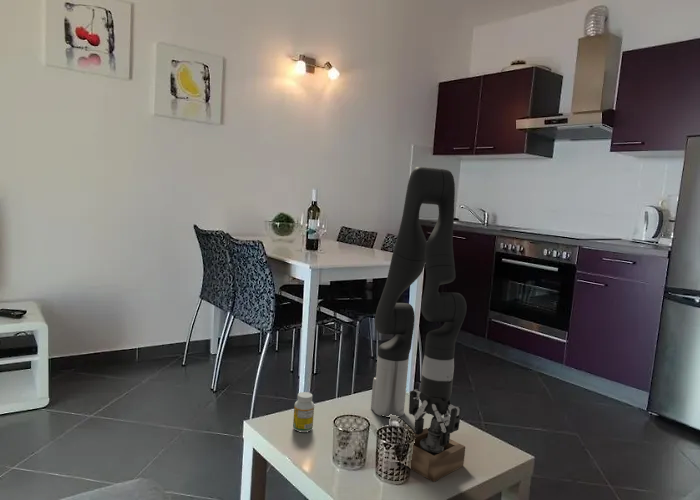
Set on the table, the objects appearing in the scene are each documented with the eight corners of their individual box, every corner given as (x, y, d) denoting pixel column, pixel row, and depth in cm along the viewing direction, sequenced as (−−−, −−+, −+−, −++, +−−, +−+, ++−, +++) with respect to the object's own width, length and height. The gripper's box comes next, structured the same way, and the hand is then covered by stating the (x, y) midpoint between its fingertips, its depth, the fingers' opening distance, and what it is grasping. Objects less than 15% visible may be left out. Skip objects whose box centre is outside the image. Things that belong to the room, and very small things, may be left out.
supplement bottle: (310, 434, 137) (312, 399, 136) (290, 431, 138) (292, 397, 137) (314, 425, 142) (316, 392, 141) (295, 423, 143) (297, 389, 142)
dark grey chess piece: (440, 468, 123) (451, 423, 121) (416, 461, 125) (426, 416, 122) (441, 455, 129) (451, 411, 127) (418, 448, 130) (427, 405, 128)
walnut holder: (394, 460, 127) (396, 440, 126) (424, 446, 135) (426, 427, 135) (433, 482, 118) (435, 461, 118) (463, 465, 127) (465, 446, 126)
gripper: (404, 368, 127) (398, 432, 129) (453, 386, 117) (446, 456, 119) (423, 362, 132) (417, 424, 134) (471, 380, 122) (464, 446, 124)
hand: (431, 439), depth 126 cm, fingers open, 7 cm apart
